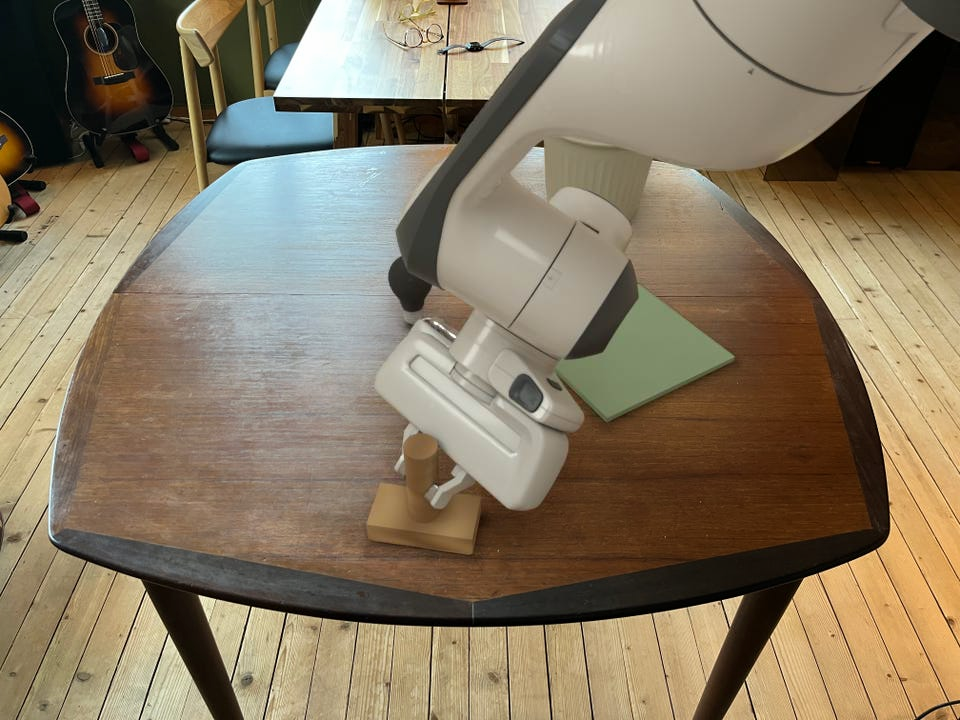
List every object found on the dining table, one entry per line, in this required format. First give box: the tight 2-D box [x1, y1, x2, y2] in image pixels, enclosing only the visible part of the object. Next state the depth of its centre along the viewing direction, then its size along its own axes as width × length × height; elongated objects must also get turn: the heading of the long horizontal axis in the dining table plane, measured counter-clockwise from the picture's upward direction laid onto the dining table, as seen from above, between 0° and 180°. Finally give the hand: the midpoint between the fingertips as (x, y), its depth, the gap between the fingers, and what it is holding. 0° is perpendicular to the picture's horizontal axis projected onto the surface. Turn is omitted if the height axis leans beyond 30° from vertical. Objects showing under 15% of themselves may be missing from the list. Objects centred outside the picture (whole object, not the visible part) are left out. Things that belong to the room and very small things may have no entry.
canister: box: [543, 137, 654, 223], centre depth 108 cm, size 18×18×21 cm
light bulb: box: [387, 255, 433, 326], centre depth 92 cm, size 6×6×10 cm
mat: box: [553, 282, 736, 423], centre depth 93 cm, size 24×20×1 cm
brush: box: [365, 433, 482, 556], centre depth 67 cm, size 10×5×12 cm, turn 81°
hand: (417, 489), depth 66 cm, fingers closed on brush, 3 cm apart
